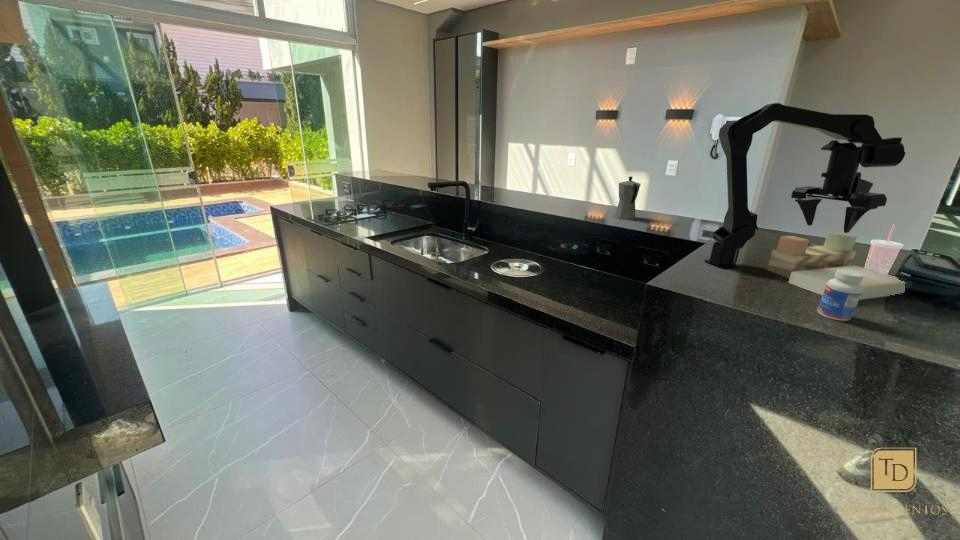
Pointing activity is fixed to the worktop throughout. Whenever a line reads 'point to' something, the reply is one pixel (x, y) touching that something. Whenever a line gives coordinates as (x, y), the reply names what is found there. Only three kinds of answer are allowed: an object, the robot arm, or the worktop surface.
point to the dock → (872, 283)
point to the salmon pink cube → (792, 245)
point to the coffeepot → (627, 199)
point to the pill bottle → (841, 295)
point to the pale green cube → (840, 241)
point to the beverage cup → (882, 254)
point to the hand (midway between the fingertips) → (827, 228)
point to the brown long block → (809, 260)
